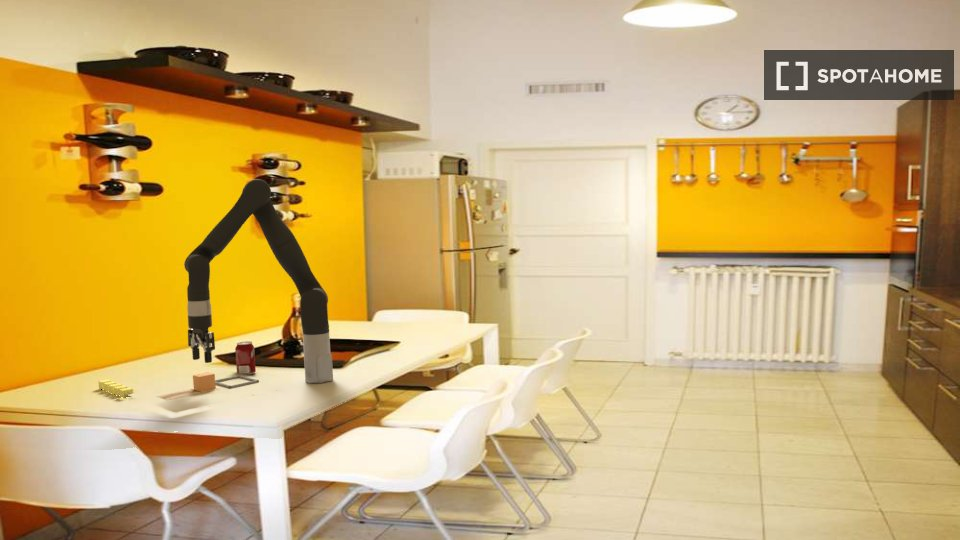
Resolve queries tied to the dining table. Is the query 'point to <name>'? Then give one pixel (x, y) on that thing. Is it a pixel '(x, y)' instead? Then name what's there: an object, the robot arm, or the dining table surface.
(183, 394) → the wooden board
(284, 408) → the dining table surface
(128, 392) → the yellow flower cubes
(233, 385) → the tray
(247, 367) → the soda can
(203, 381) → the block
